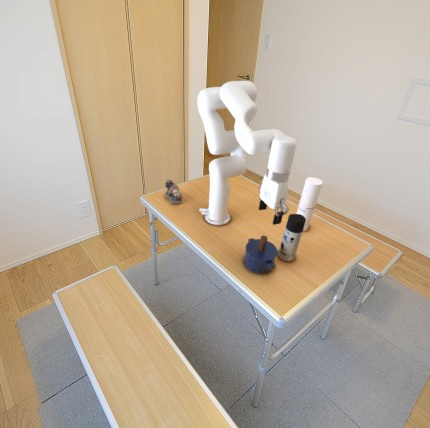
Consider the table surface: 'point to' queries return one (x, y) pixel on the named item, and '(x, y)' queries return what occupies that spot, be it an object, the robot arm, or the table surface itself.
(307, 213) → the cylindrical container
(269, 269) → the pan
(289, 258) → the spray can
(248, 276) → the table surface
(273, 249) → the pan lid
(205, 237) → the table surface
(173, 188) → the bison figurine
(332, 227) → the table surface
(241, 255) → the table surface
